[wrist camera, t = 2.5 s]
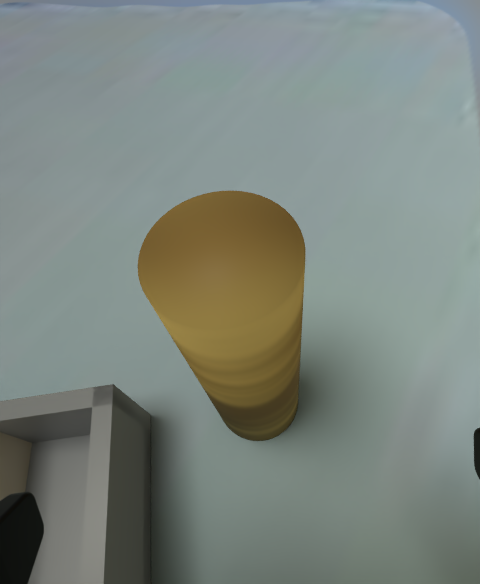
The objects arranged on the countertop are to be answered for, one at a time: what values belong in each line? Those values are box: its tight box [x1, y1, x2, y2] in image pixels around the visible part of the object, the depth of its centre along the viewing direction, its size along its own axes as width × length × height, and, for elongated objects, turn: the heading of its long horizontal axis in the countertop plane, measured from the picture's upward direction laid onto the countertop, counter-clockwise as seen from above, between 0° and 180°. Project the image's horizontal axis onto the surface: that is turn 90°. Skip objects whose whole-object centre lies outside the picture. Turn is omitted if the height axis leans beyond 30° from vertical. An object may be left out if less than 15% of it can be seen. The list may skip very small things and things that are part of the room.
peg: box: [138, 191, 305, 441], centre depth 15 cm, size 4×4×12 cm
